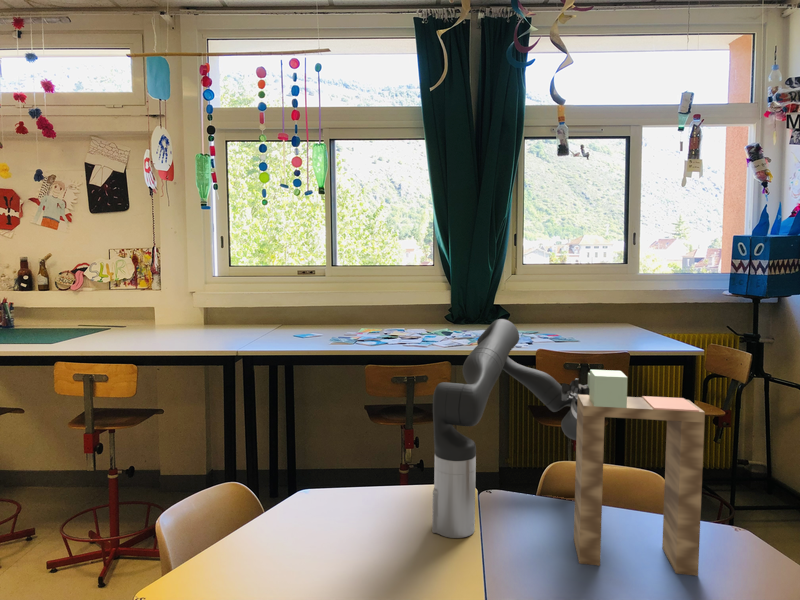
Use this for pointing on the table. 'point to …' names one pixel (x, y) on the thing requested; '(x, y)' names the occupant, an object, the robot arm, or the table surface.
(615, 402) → the pale green bar
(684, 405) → the card
